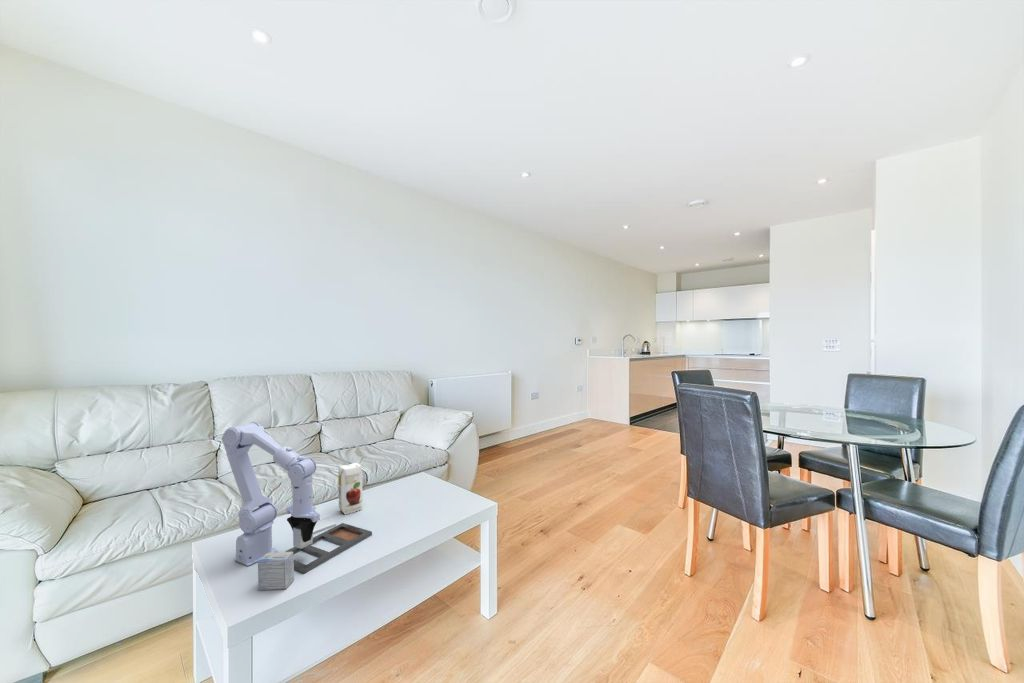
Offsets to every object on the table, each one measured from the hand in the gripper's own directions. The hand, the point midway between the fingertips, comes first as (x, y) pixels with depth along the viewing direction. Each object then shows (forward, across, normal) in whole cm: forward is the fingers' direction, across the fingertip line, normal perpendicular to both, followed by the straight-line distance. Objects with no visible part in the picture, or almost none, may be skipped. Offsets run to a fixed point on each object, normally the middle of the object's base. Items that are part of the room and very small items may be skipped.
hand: (303, 539), depth 121 cm
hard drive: (+7, +16, -15) cm, 23 cm away
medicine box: (+7, -6, +12) cm, 15 cm away
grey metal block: (+2, 0, 0) cm, 2 cm away
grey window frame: (+6, 0, -8) cm, 10 cm away
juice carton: (+7, +17, -32) cm, 37 cm away
